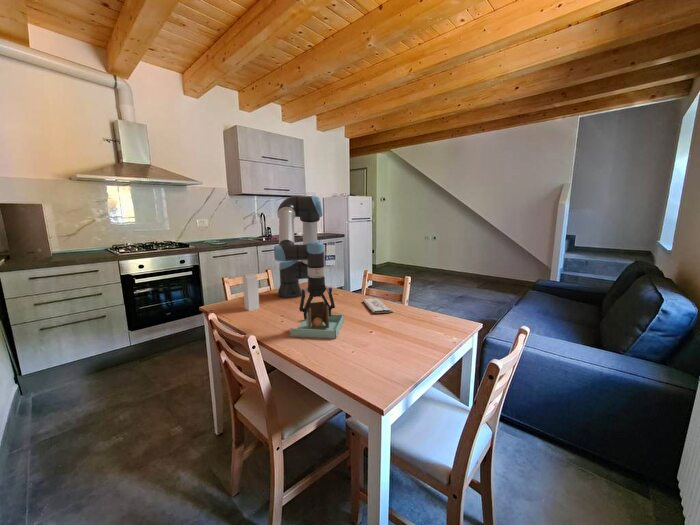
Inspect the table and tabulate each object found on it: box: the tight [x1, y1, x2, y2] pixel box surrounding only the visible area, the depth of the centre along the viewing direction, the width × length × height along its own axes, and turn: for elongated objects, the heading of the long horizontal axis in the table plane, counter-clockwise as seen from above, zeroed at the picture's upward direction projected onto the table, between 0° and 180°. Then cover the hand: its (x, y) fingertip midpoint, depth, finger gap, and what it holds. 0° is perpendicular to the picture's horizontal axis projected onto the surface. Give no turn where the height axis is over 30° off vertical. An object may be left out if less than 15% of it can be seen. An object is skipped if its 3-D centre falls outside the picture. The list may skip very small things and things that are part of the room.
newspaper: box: [362, 298, 395, 314], centre depth 161 cm, size 23×12×2 cm, turn 13°
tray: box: [289, 313, 345, 340], centre depth 131 cm, size 20×20×4 cm
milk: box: [242, 269, 260, 312], centre depth 157 cm, size 6×6×22 cm
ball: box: [312, 317, 323, 327], centre depth 131 cm, size 5×5×5 cm
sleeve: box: [307, 300, 329, 330], centre depth 131 cm, size 8×8×10 cm
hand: (317, 324), depth 131 cm, fingers closed on sleeve, 9 cm apart
